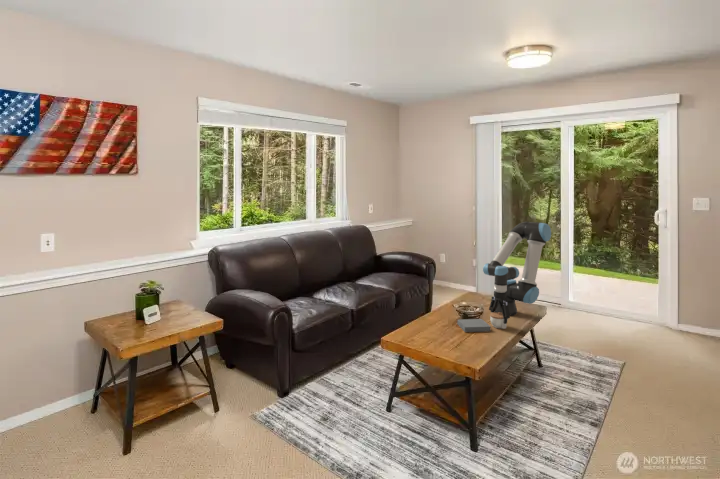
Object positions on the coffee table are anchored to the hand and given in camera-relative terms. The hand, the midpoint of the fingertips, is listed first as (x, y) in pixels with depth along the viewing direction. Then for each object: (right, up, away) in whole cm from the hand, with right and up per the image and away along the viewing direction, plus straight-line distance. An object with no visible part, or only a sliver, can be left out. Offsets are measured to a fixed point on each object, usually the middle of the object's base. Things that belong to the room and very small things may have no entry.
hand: (498, 325), depth 261 cm
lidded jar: (0, -1, 0) cm, 1 cm away
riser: (-16, -1, -2) cm, 16 cm away
